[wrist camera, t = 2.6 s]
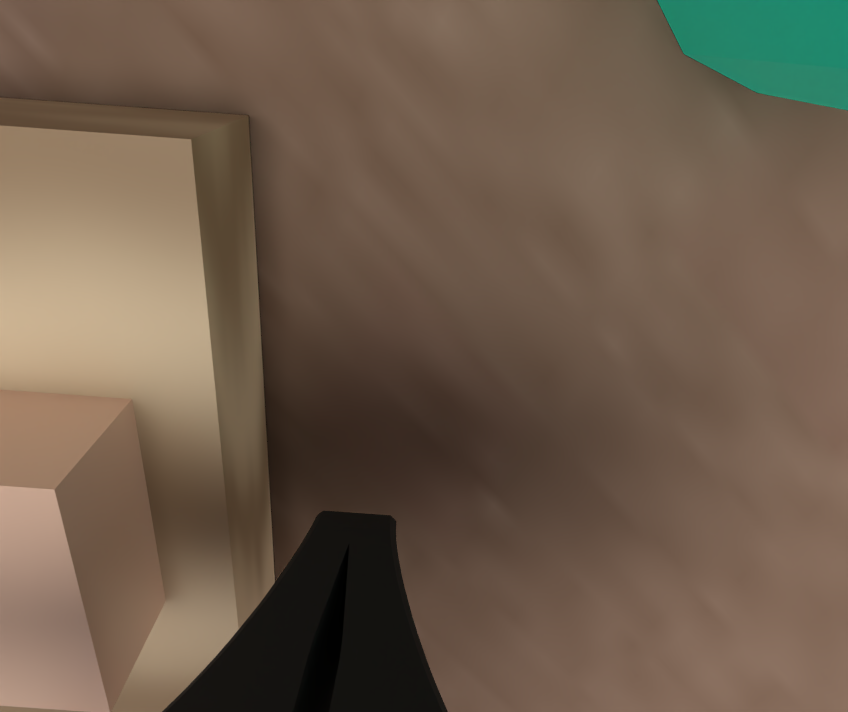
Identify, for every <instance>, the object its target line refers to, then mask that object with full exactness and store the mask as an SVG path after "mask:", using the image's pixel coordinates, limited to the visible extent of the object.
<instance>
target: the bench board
mask: <svg viewBox="0 0 848 712" xmlns="http://www.w3.org/2000/svg"><path fill="white" fill-rule="evenodd" d="M0 390H13V391H27V392H41V393H55V394H69V395H83V396H97V397H111V398H125V399H132V402H133V408H134V414H135V420H136V426H137V432H138V438H139V444H140V450H141V456H142V462H143V468H144V474H145V480H146V486H147V492H148V498H149V504H150V510H151V516H152V522H153V528H154V534H155V540H156V546H157V552H158V558H159V563H160V569H161V575H162V581H163V587H164V593H165V599H166V602H165V604H164V606H163V608H162V610H161V612H160V614H159V616H158V618H157V620H156V622H155V624H154V626H153V628H152V630H151V632H150V634H149V636H148V638H147V640H146V642H145V644H144V646H143V648H142V650H141V652H140V654H139V657H138V659H137V661H136V663H135V665H134V667H133V669H132V671H131V673H130V675H129V677H128V679H127V681H126V683H125V685H124V687H123V689H122V691H121V693H120V695H119V697H118V699H117V701H116V703H115V705H114V707H113V709H112V711H111V712H162V711H163V710H164V709H165V708H166V707H167V706H168V705H169V704H170V703H171V702H173V701H174V700H175V699H176V698H177V697H178V696H179V695H180V694H181V693H182V692H183V691H184V690H185V689H186V688H187V687H188V686H189V684H190V683H191V682H192V681H193V680H194V679H195V678H196V677H197V676H198V675H199V674H200V673H201V672H202V671H203V670H204V669H205V668H206V666H207V665H208V664H209V663H210V662H211V661H212V660H213V659H214V658H215V657H216V655H217V654H218V653H219V652H220V651H221V650H222V649H223V647H224V646H225V645H226V644H227V643H228V642H229V641H230V639H231V638H232V637H233V636H234V634H235V633H236V632H237V631H238V630H239V628H240V627H241V626H242V625H243V623H244V622H245V621H246V620H247V618H248V617H249V616H250V615H251V614H252V612H253V611H254V610H255V609H256V607H257V606H258V605H259V604H260V602H261V601H262V600H263V598H264V597H265V596H266V594H267V593H268V591H269V590H270V589H271V587H272V586H273V584H274V583H275V574H274V556H273V539H272V521H271V503H270V486H269V468H268V450H267V433H266V415H265V398H264V380H263V362H262V345H261V327H260V309H259V292H258V274H257V257H256V239H255V221H254V204H253V186H252V169H251V151H250V133H249V116H248V115H237V114H223V113H209V112H195V111H182V110H168V109H154V108H140V107H127V106H113V105H99V104H86V103H72V102H58V101H44V100H31V99H17V98H3V97H0ZM0 712H83V711H69V710H55V709H40V708H26V707H12V706H0Z"/></svg>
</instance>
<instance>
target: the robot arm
mask: <svg viewBox="0 0 848 712" xmlns="http://www.w3.org/2000/svg"><path fill="white" fill-rule="evenodd" d="M162 712H447V709H446V707H445V705H444V702H443V700H442V698H441V695H440V693H439V690H438V688H437V686H436V683H435V681H434V678H433V676H432V673H431V670H430V668H429V665H428V662H427V660H426V657H425V654H424V651H423V648H422V645H421V642H420V639H419V637H418V634H417V630H416V627H415V624H414V621H413V618H412V614H411V610H410V606H409V603H408V599H407V595H406V592H405V588H404V584H403V579H402V575H401V569H400V564H399V559H398V552H397V544H396V521H395V520H394V519H393V518H392V517H391V516H389V515H375V514H361V513H347V512H334V511H323V512H321V513H320V514H318V515H317V517H316V519H315V521H314V523H313V525H312V526H311V528H310V530H309V532H308V533H307V535H306V537H305V538H304V540H303V542H302V543H301V545H300V547H299V548H298V550H297V551H296V553H295V554H294V556H293V557H292V559H291V560H290V562H289V563H288V565H287V566H286V568H285V569H284V571H283V572H282V573H281V575H280V576H279V578H278V579H277V580H276V582H275V583H274V584H273V586H272V587H271V589H270V590H269V591H268V593H267V594H266V596H265V597H264V598H263V600H262V601H261V602H260V604H259V605H258V606H257V607H256V609H255V610H254V611H253V612H252V614H251V615H250V616H249V617H248V618H247V620H246V621H245V622H244V623H243V625H242V626H241V627H240V628H239V630H238V631H237V632H236V633H235V634H234V636H233V637H232V638H231V639H230V641H229V642H228V643H227V644H226V645H225V646H224V647H223V649H222V650H221V651H220V652H219V653H218V654H217V655H216V657H215V658H214V659H213V660H212V661H211V662H210V663H209V664H208V665H207V666H206V668H205V669H204V670H203V671H202V672H201V673H200V674H199V675H198V676H197V677H196V678H195V679H194V680H193V681H192V682H191V683H190V684H189V686H188V687H187V688H186V689H185V690H184V691H183V692H182V693H181V694H180V695H179V696H178V697H177V698H176V699H175V700H174V701H173V702H171V703H170V704H169V705H168V706H167V707H166V708H165V709H164V710H163V711H162Z"/></svg>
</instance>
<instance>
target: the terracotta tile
mask: <svg viewBox="0 0 848 712" xmlns="http://www.w3.org/2000/svg"><path fill="white" fill-rule="evenodd" d="M165 602H166V599H165V593H164V587H163V581H162V575H161V569H160V563H159V558H158V552H157V546H156V540H155V534H154V528H153V522H152V516H151V510H150V504H149V498H148V492H147V486H146V480H145V474H144V468H143V462H142V456H141V450H140V444H139V438H138V432H137V426H136V420H135V414H134V408H133V402H132V399H125V398H111V397H97V396H83V395H69V394H55V393H41V392H27V391H13V390H0V706H12V707H26V708H40V709H55V710H69V711H83V712H111V711H112V709H113V707H114V705H115V703H116V701H117V699H118V697H119V695H120V693H121V691H122V689H123V687H124V685H125V683H126V681H127V679H128V677H129V675H130V673H131V671H132V669H133V667H134V665H135V663H136V661H137V659H138V657H139V654H140V652H141V650H142V648H143V646H144V644H145V642H146V640H147V638H148V636H149V634H150V632H151V630H152V628H153V626H154V624H155V622H156V620H157V618H158V616H159V614H160V612H161V610H162V608H163V606H164V604H165Z"/></svg>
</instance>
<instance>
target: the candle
mask: <svg viewBox="0 0 848 712" xmlns="http://www.w3.org/2000/svg"><path fill="white" fill-rule="evenodd" d="M657 1H658V3H659V5H660V7H661V9H662V11H663V13H664V15H665V17H666V19H667V21H668V23H669V25H670V27H671V29H672V31H673V33H674V35H675V37H676V39H677V41H678V43H679V45H680V47H681V49H682V51H683V53H684V54H685V55H687V56H689V57H691V58H692V59H694V60H696V61H698V62H700V63H702V64H704V65H706V66H707V67H709V68H711V69H713V70H715V71H717V72H719V73H721V74H722V75H724V76H726V77H728V78H730V79H732V80H734V81H736V82H738V83H739V84H741V85H743V86H745V87H747V88H749V89H751V90H753V91H754V92H756V93H761V94H766V95H771V96H776V97H781V98H786V99H792V100H797V101H802V102H807V103H812V104H817V105H823V106H828V107H833V108H838V109H843V110H848V0H657Z"/></svg>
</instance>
